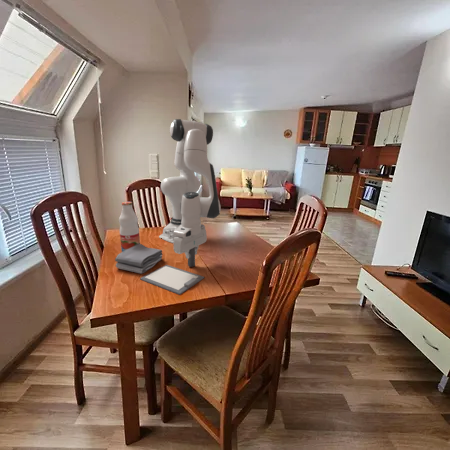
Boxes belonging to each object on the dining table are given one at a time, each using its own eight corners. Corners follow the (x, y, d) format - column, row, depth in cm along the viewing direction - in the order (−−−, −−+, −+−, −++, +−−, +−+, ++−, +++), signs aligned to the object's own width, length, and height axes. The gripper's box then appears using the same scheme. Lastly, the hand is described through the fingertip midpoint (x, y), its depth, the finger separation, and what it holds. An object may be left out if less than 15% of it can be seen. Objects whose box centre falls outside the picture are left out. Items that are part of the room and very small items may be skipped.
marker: (186, 265, 118) (185, 240, 114) (190, 262, 121) (190, 238, 117) (192, 267, 116) (191, 241, 112) (197, 264, 119) (196, 239, 115)
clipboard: (140, 279, 106) (139, 275, 105) (166, 265, 119) (166, 262, 118) (179, 294, 95) (179, 290, 94) (204, 278, 108) (204, 274, 108)
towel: (114, 270, 114) (112, 254, 112) (139, 255, 131) (138, 241, 128) (143, 275, 109) (141, 259, 107) (164, 259, 126) (164, 245, 124)
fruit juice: (143, 251, 136) (139, 200, 128) (137, 258, 127) (133, 204, 119) (125, 250, 135) (120, 200, 128) (119, 257, 126) (113, 204, 119)
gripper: (199, 222, 123) (199, 247, 127) (170, 232, 106) (171, 261, 110) (209, 224, 120) (209, 250, 124) (181, 235, 103) (182, 265, 107)
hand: (191, 256), depth 117 cm, fingers closed on marker, 3 cm apart
